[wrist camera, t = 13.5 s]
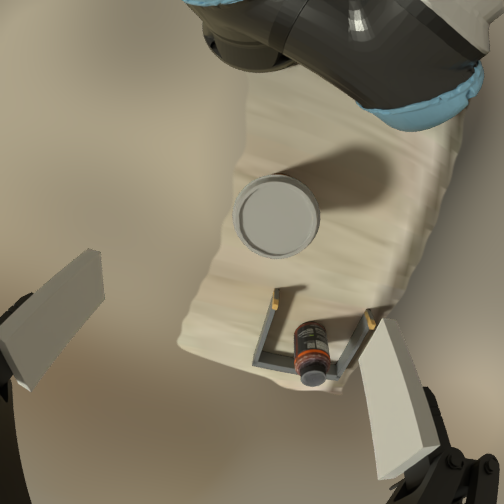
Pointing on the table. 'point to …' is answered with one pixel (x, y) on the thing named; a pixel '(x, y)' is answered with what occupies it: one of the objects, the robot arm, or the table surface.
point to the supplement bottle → (311, 353)
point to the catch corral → (287, 363)
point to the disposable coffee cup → (276, 216)
